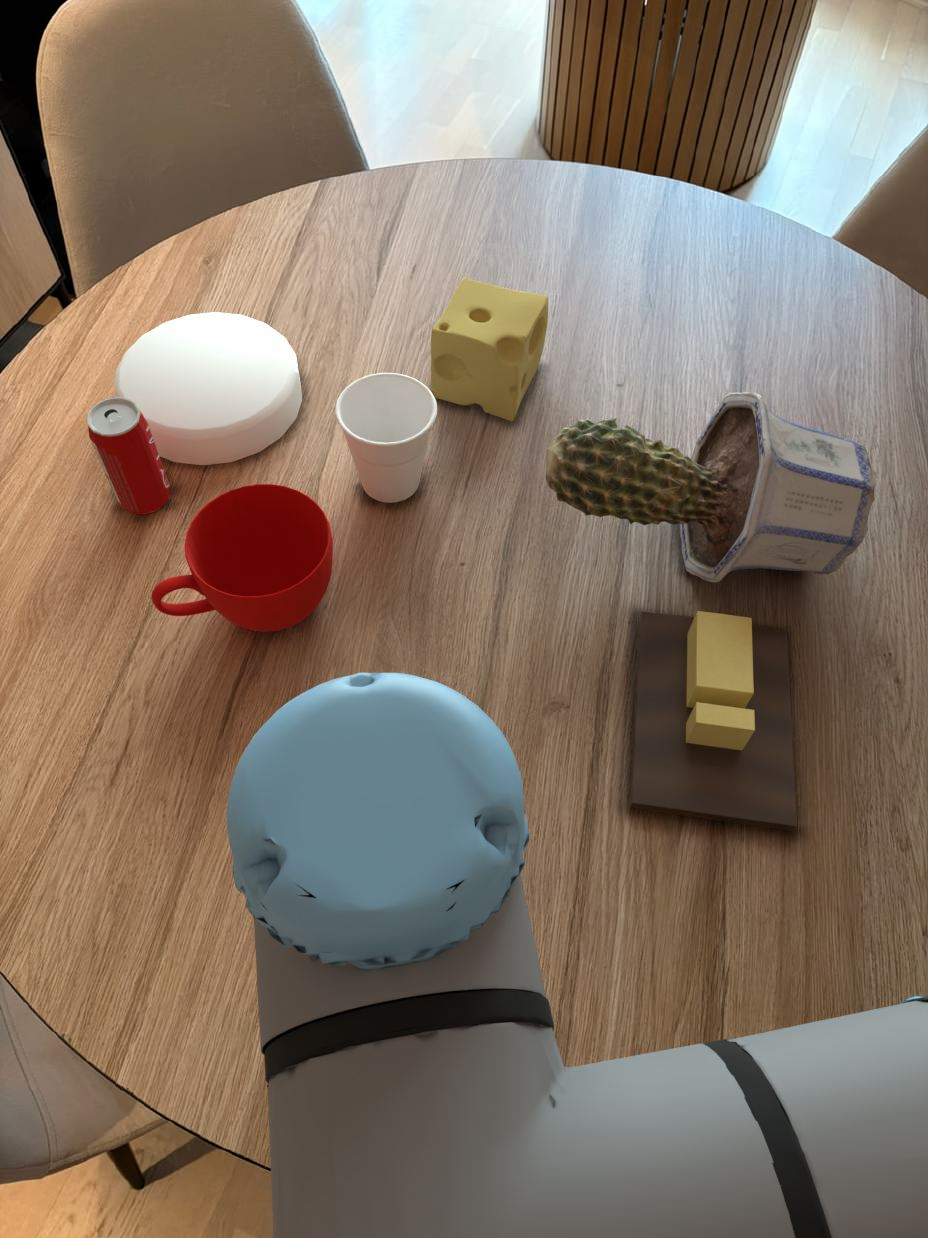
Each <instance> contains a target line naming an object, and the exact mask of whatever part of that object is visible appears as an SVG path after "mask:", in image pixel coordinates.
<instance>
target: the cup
mask: <svg viewBox="0 0 928 1238" xmlns="http://www.w3.org/2000/svg"><path fill="white" fill-rule="evenodd" d="M334 412H335V418H336V421H337V424H338V425H339V427H340V429H341V430H342V432H343V434H344V435H343V436H344V438H345V440H346V441H345V442H346V443H347V446H348V449H349V452H350V455H351V457H352V460H353V463H354V466H355V469H356V472H357V476H358V478H359V480H360V483H361V486H362V489H363V490H364V493H366V495H368V496H369V497H370V498H372V499H373V500H375V501H378V502H382V503H387V504H390V503H399V502H403V501H405V500H407V499H408V498H411V497H412V496H413V495H414V494H415V493H416V492H417V490H418V488H419V486H420V482H421V479H422V474H423V468H424V464H425V459H426V455H427V451H428V450H427V449H428V445H429V441H430V438H431V433H432V428H433V425H434V423H435V421H436V418H437V415H438V404H437V400H436V398H435V397H434V395H433V394H432V390H430V388H429V387H428V386H427V385H425V384H424V383H423V382H421V381H419V380H418V379H416V378H414V377H411V376H409V375H405V374H401V373H398V372H397V373H396V372H380V373H379V372H378V373H373V374H368V375H364V376H363V377H360V378H358V379H356V380H354V381H353V382H351V383H350V384H348V385H347V386H346V387H345V388H344V389H343V390H342V391H341V392H340V394H339V395H338V398H337V400H336V402H335V408H334Z"/></svg>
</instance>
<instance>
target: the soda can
mask: <svg viewBox="0 0 928 1238" xmlns="http://www.w3.org/2000/svg"><path fill="white" fill-rule="evenodd" d="M86 418H87V419H86V421H87V422H86V423H87V427H88V437H89V440H90V442H91V445H92V447H93V450H94V452H95V453H96V456H97V459H98V460H99V464H100V465H101V468H102V470H103V472H104V475H105V476H106V479H107V481H108V483H109V486H110V488H111V490H112V493H113V495H114V497H115V500H116V502H117V504H118V505H119V506H120V507H121V508H122V510H124V511H125V512H129V513H131V514H135V515H147V514H150V513H154V512H156V511H158V510H160V509H161V508H162V507H164V506H165V505H166V504H167V502H168V501H169V499H170V495H171V491H172V487H171V484H170V482H169V479H168V477H167V473H166V470H165V468H164V464H163V462H162V459H161V457H160V456H159V453H158V451H157V448H156V445H155V442H154V439H153V437H152V434H151V431H150V428H149V425H148V423H147V421H146V419H145V417H144V415H143V414H142V412H141V411H140V410H139V408H138V407H137V405H136V404H135V402H133V401H132V400H130V399H127V398H121V397H116V396H115V397H109V398H105V399H103V400H101V401H98V402H97V403H96V404H94V405H93V406H92V407H91V408H90V410H88V413H87V415H86Z"/></svg>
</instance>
